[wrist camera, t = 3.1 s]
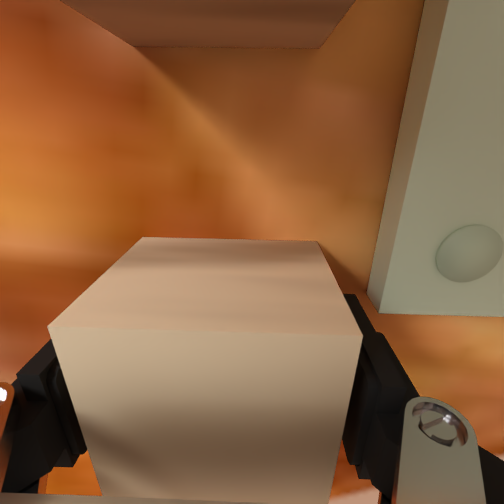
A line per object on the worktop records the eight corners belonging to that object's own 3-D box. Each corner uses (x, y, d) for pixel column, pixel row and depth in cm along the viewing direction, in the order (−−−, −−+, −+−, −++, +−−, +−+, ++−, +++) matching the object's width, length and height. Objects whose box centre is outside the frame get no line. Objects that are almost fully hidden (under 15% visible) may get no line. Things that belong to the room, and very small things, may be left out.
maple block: (143, 235, 10) (47, 326, 6) (316, 240, 10) (362, 335, 5) (162, 366, 13) (105, 505, 8) (301, 370, 12) (325, 514, 8)
